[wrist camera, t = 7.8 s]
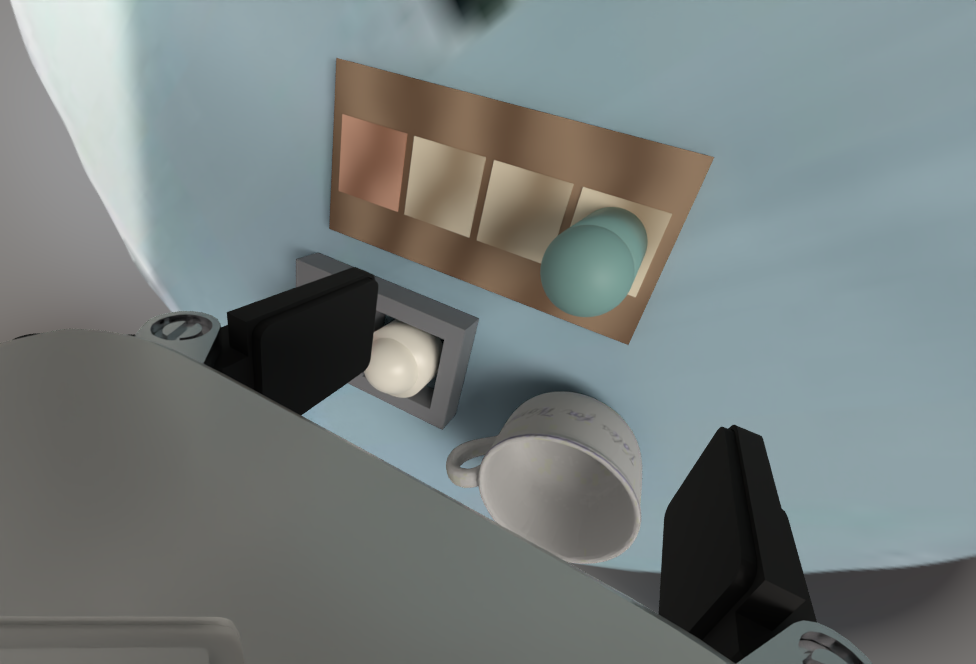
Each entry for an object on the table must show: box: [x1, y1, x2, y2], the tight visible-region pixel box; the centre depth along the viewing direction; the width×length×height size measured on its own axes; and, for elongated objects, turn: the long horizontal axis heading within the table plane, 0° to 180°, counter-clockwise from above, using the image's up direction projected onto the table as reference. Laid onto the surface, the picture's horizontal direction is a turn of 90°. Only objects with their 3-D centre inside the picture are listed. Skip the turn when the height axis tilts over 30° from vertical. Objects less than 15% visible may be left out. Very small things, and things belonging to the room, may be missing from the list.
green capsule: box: [540, 207, 648, 317], centre depth 22 cm, size 4×4×9 cm
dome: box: [364, 319, 443, 398], centre depth 34 cm, size 6×6×5 cm
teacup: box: [446, 391, 642, 564], centre depth 31 cm, size 14×11×8 cm
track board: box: [329, 58, 714, 345], centre depth 29 cm, size 25×12×1 cm, turn 76°
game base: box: [296, 253, 479, 430], centre depth 35 cm, size 16×10×6 cm, turn 76°
